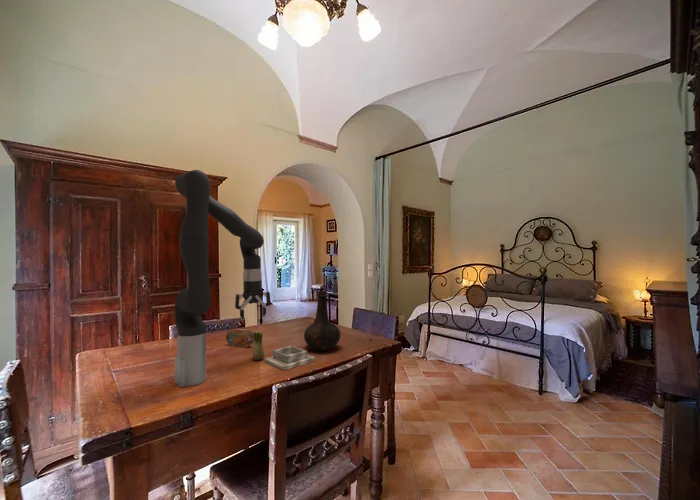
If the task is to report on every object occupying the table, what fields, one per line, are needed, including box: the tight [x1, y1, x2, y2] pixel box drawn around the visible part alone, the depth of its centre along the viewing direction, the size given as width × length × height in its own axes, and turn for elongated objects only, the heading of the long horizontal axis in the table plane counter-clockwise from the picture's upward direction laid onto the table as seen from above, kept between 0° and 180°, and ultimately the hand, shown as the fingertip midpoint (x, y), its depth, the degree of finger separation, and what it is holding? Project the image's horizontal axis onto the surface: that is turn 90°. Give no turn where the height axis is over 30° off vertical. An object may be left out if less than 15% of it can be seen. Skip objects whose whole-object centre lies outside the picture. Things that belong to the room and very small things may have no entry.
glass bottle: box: [303, 290, 341, 352], centre depth 150 cm, size 18×18×28 cm
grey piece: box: [264, 345, 316, 371], centre depth 131 cm, size 16×14×4 cm
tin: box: [225, 328, 254, 348], centre depth 153 cm, size 15×3×8 cm, turn 73°
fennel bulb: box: [252, 330, 265, 361], centre depth 134 cm, size 6×5×12 cm
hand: (253, 317), depth 131 cm, fingers open, 8 cm apart
